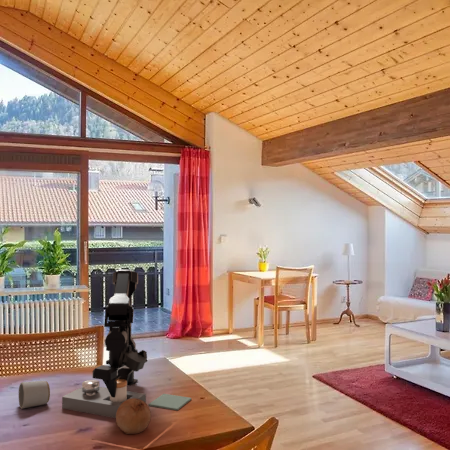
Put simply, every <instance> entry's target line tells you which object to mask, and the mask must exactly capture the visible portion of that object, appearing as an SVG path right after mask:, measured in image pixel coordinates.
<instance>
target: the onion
mask: <svg viewBox="0 0 450 450" xmlns="http://www.w3.org/2000/svg"><path fill="white" fill-rule="evenodd" d="M151 416H152V414H151V409H150V406H148V404H147V403H145V402H144V401H142V400H140V399H136V398H132V399H128V400H126V401H124V402H123V403H122V404H121V405H120V406H119V408H118V410H117V413H116V418H115V420H116V421H115V425H116V426H117V427H119V429H120V430H121V431H122V432H123V433H124V434H127V435H132V434H133V435H134V434H135V435H136V434H139V433H142V432H143V431H145V430H146V428H147V427H148V426H149V424H150V422H151V418H152V417H151Z"/></svg>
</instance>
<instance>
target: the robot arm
mask: <svg viewBox="0 0 450 450" xmlns="http://www.w3.org/2000/svg"><path fill="white" fill-rule="evenodd" d="M138 284H139V274H138V271H137V272H136V271H132V269H131V270H130V269H117V270H116V271H114V272H112V285H114V287H115V288H114V293H113V296H111V297H110V298H109V299H108V303H107V304H108V305H106V306H105V312H104V313H105V315H104V324H103V325H104V326H103V327H104V328H108V329H109V330H108V333H107V335H106V337H105V339H104V345H105V347H106V348H105V351H107V352H108V359H107V360H106V361H105V364H106V365H100V366H97V367H95V368H93V370H92V376H91V377H92V379H94V380H102V382H103V383H104V385H105V386H106V387H105V388H107V389H108V391H109V393H110V395H111V397H115V395H116V387H117V380H118V379H124V380H126V381H127V386H132V385H133V384H135V383H137V382H138V379H136V378H135V372H136V373H137V372H139V371H140V370H142V369H144V366H145V363H147V362H148V353H147V351H145V350H144V349H142V350H140V351H138V349H137V348H136V346H137V344H136V342H135V340H134V339H133V337H132V324H133V323H134V312H135V311H134V308H133V305H132V304H133V303H132V301H133V298H132V297H133V294H134V293H135V291H136V289H137V285H138Z"/></svg>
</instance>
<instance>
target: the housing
mask: <svg viewBox="0 0 450 450" xmlns="http://www.w3.org/2000/svg"><path fill="white" fill-rule="evenodd" d="M146 397H147V396H146V393H142V392H136V391H130V390H127V400H128V399H132V398H136V399H140V400H142V401H144V402H145V403H146V401H147V400H146ZM61 400H62V401H61V406H62V407H61V409H63V410H67V411H68V410H70V411H74V412H75V411H76V412H80V413H86V414H89V415H90V414H91V415H95V416H96V415H97V416H102V417H107V418H108V417H109V418H114V419H116V413H117V410H118V408H119V406H120V405H121V404H122V403H123V402H122V403H119V402H113V401H110V393H109V391H108V389H107V387H103V386H99V391H98V392H95V395H93V396H90V395H86V393H84V392H82V386H81V387H79V388H77V389H75V390H73V391H71V392H69V393H67V394H65V395H63V396H62V397H61ZM146 404H147V403H146Z"/></svg>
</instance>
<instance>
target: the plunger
mask: <svg viewBox="0 0 450 450" xmlns="http://www.w3.org/2000/svg"><path fill="white" fill-rule="evenodd" d="M81 383H82V384H81V387H82V392H84V393H86V395H90V396H93V395H95V392H98V391H99V387H100V381H99V379H88V380H85V381H83V382H81Z"/></svg>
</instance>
